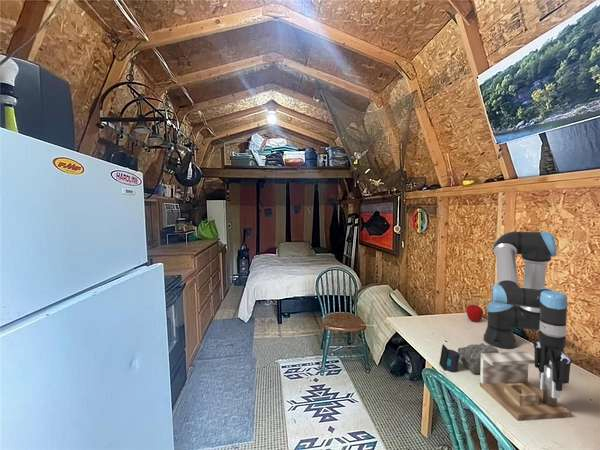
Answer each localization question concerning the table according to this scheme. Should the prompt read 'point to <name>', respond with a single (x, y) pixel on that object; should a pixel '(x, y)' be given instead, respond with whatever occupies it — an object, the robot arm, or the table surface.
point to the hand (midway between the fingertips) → (550, 393)
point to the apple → (474, 313)
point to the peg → (548, 385)
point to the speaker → (449, 359)
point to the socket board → (516, 386)
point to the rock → (474, 356)
